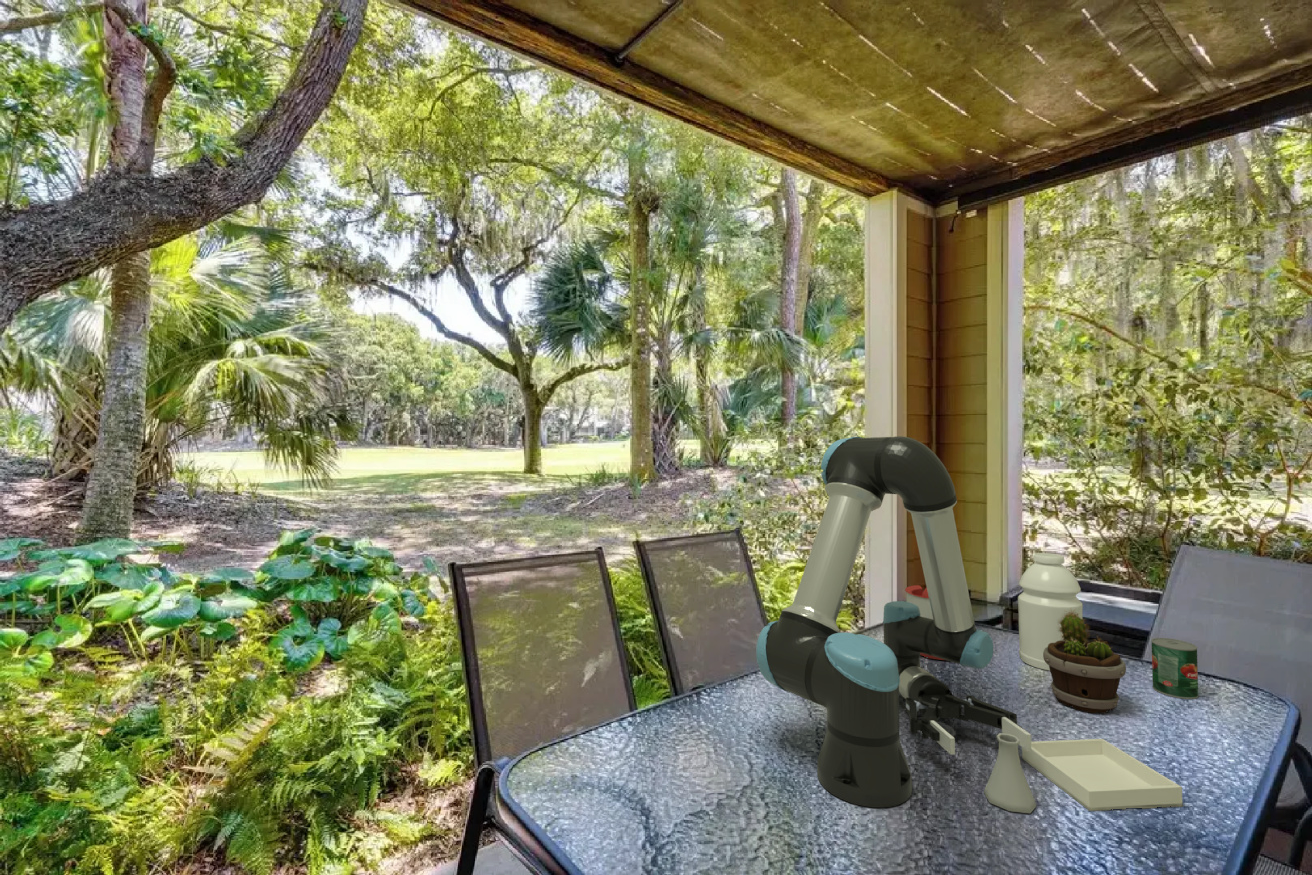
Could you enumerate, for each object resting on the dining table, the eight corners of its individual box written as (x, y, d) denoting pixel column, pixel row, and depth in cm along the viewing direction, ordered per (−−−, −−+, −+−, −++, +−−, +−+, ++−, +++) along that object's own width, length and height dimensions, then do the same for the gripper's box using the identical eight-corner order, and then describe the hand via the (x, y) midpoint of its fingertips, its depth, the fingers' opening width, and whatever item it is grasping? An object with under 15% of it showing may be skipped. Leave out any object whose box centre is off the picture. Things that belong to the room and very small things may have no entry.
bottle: (1006, 657, 155) (1004, 552, 156) (1042, 650, 160) (1040, 548, 161) (1059, 677, 142) (1057, 561, 142) (1097, 668, 147) (1094, 557, 147)
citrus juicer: (958, 644, 166) (957, 573, 167) (977, 666, 149) (976, 588, 150) (900, 640, 170) (899, 571, 170) (912, 662, 153) (910, 585, 153)
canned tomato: (1203, 702, 127) (1201, 651, 128) (1156, 694, 132) (1154, 645, 132) (1193, 689, 134) (1192, 641, 134) (1149, 682, 138) (1148, 635, 139)
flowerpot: (1145, 721, 119) (1142, 623, 119) (1061, 715, 122) (1058, 619, 122) (1105, 692, 133) (1103, 604, 133) (1031, 687, 136) (1029, 601, 136)
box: (1089, 811, 90) (1089, 791, 90) (1022, 758, 105) (1022, 742, 106) (1182, 806, 91) (1181, 787, 91) (1102, 755, 106) (1102, 738, 106)
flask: (1037, 820, 88) (1035, 753, 88) (982, 805, 92) (981, 741, 92) (1036, 795, 94) (1034, 733, 95) (984, 782, 98) (983, 723, 98)
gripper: (983, 707, 121) (1061, 763, 100) (866, 713, 120) (920, 770, 98) (982, 671, 121) (1060, 719, 100) (866, 676, 120) (920, 725, 99)
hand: (991, 744), depth 99 cm, fingers open, 13 cm apart
